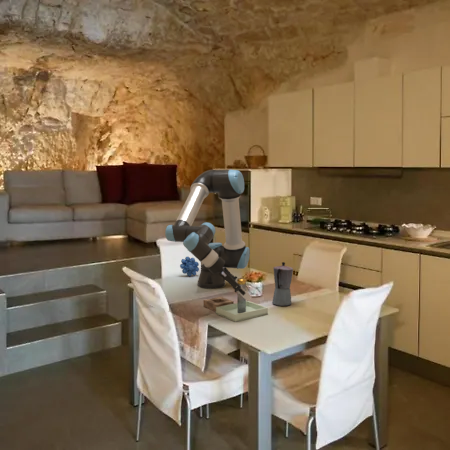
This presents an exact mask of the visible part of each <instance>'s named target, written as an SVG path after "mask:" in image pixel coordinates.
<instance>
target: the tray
mask: <svg viewBox="0 0 450 450" xmlns="http://www.w3.org/2000/svg"><path fill="white" fill-rule="evenodd" d="M268 312H269V307H267V306H264V305H261V304H259V303H256V302H253V301H250V300H248V301H247V300H246V312H244V313H237V302H235V303H234V304H230V305H225V306H220V307H216V311H215V314H216V315H217V316H220V317H223V318H225V319H227V320H230V321H232V322H234V323H237V322H241V321H246V320H249V319H254V318H257V317H263V316H267V315H268V314H269V313H268Z"/></svg>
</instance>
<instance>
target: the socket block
mask: <svg viewBox="0 0 450 450" xmlns="http://www.w3.org/2000/svg"><path fill="white" fill-rule="evenodd" d="M230 304H235V303H234V301H233V300H231V299H228V298H225V297H223V296H218V297H212V298H209V299H203V307H204V308H206V309H208V310H212V311H214V312H216V307H220V306H225V305H230Z"/></svg>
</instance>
